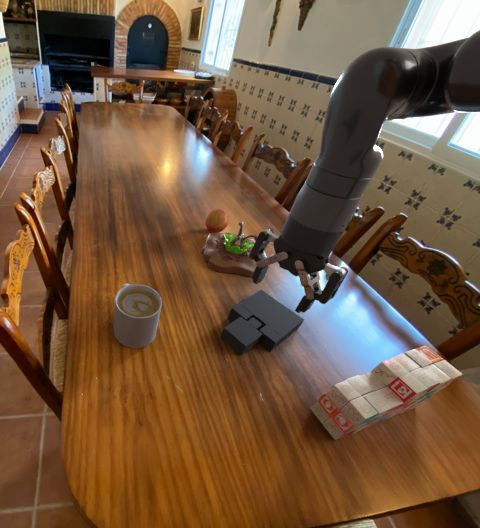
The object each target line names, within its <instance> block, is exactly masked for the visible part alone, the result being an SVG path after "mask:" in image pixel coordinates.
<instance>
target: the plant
mask: <svg viewBox="0 0 480 528" xmlns="http://www.w3.org/2000/svg"><path fill="white" fill-rule="evenodd" d="M237 225H238V226H239V230H238V233H233V232H228V231H227V232H219V233H212V232H209V234H208V235H207V238H206V240H205V244H204V246H203V247H202V248H201V252H200V253H201V254H202V259H203V260H204V262H207V263H208V264H207V266H208V267H209V269H211V270H214V271H215V272H218V273H223V274H235V275H241V276H245V277H248V278H252V275H253V273H254V270H255V268H256V262H255V261H254V260H252V259H250V258H249V254H250V252H251V250H252V248H253V246H254V244H255V242H256V239H257V237H258V235H256V234H255V235H254V234H248V235H246V236H245V235H244V233H243V229H244V228H243V226H244V221H239V222H238V224H237ZM253 238H254V239H253ZM263 255H264V256H265V257H268V256H267V253H266V251H264V253H263Z"/></svg>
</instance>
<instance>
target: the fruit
mask: <svg viewBox="0 0 480 528" xmlns="http://www.w3.org/2000/svg"><path fill="white" fill-rule="evenodd" d="M229 222H230V219H229V216H228V214H227V213H226V212H225V211H224V210H223V209H221V208H214V209H212V210H210V211H209V213H208V214H207V215H206V218H205V227H206V230H207V231H208V232H209V233H211V232H212V233H222V232H223V231H224V230H225V229H226V228H227V227H228V226H229Z"/></svg>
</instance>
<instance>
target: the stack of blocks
mask: <svg viewBox="0 0 480 528" xmlns="http://www.w3.org/2000/svg"><path fill="white" fill-rule="evenodd" d="M461 376H463V373H462V372H460V371H459V370H458V369H457V368H455V367H454V366H453V365H452V364H451V363H449V362H448V361H447V360H445V359H444V358H442V356H440V355H439V354H438V353H436V352H435V351H434V350H432V348H430V347H428V346H427V345H423V346H419V347H417V348H413V349H410V350H408V351H406V352H402V353H399V354H396V355H395V356H392V357H390V358H387V359H384V360H382V361H381V362H380V363H378V364H377V365H376V366H375V367H373V368H372V370H370V371H367V372H364V373H361V374H357V375H355V376H352V377H349V378H346V379H345V380H342V381H340V382H337V383H333V385H332V386H331V387H330V388H329V389H328V390H327V391H326V392H324V393H323V394H322V395H321V396H320V397H319V398H318V399H317V401H315V402H314V404H312V405H311V406H310V408H309V409H310V410H311V412H312V413H313V414H314V416H315V417H316V418H317V419H318V421H319V422H320V423H321V424H322V426H323V427H324V428H325V430H326V431H327V432H328V434H329V435H330V436H331V437H332V438H333V440H334V441H339V440H341V439H343V438H345V437H346V436H351V435H353V434H356V433H358V432H360V431H363V430H365V429H368V428H370V427H372V426H373V425H376V424H379V423H381V422H383V421H385V420H388V419H389V418H392V417H396V416H398V415H401V414H403V413H405V412H408V411H411V410H413V409H416V408H417V407H419V406H420V405H422V404H423V403H425V402H426V401H427V400H428V399H430V398H431V397H432V396H433V395H435V394H437V393H439V392H440V391H441V390H443V389H445V388H446V387H447V386H449V385H450V384H452V383H453V382H454V381H456V380H457V379H459V378H460V377H461Z"/></svg>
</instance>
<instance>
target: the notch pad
mask: <svg viewBox="0 0 480 528" xmlns="http://www.w3.org/2000/svg"><path fill="white" fill-rule="evenodd" d="M239 317H242V318H243V319H244V320H246V321H248V320H250V319H251V318H253V317H254V318H255V319H256V320H257V321H259V322H260V323H261V324H262V326H261V328H260V330H259V332H261V333H262V336H261V338H260V340H259V341H258V343H257V344H259V345H260V346H261V347H263V348H264V349H265V350H267V351H268V352H269V353H271V352H272V351H273V350H275V349H276V348H277V347H278V346H280V345H281V344H282V343H283V342H284V341H286V340H287V339H288V338H289V337H291V336H292V335H293V334H294V333H295V332H296V331H298V330H299V329H300V327H301V326H302V324H303V323H304V321H305V319H304V318H303V317H301V315H298V313H297V312H295V311H293V310H291V309H290V308H288V307H287V306H285V305H284V304H283V303H281V302H280V301H278V300H277V299H276V298H274V297H273V296H272V295H270V294H268V293H267V292H265V291H264V289H263V290H262V289H259V290H258V291H256V292H255V293H253V294H252V295H250V296H248V297H247V298H245V299H244V300H242V301H240V302H239V303H238V304H236V305H234V306H232V307H231V308H230V311H229V314H228V316H227V318H228V319H229V320H230V321H231V322H233V321H235V320H236V319H238V318H239Z"/></svg>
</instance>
